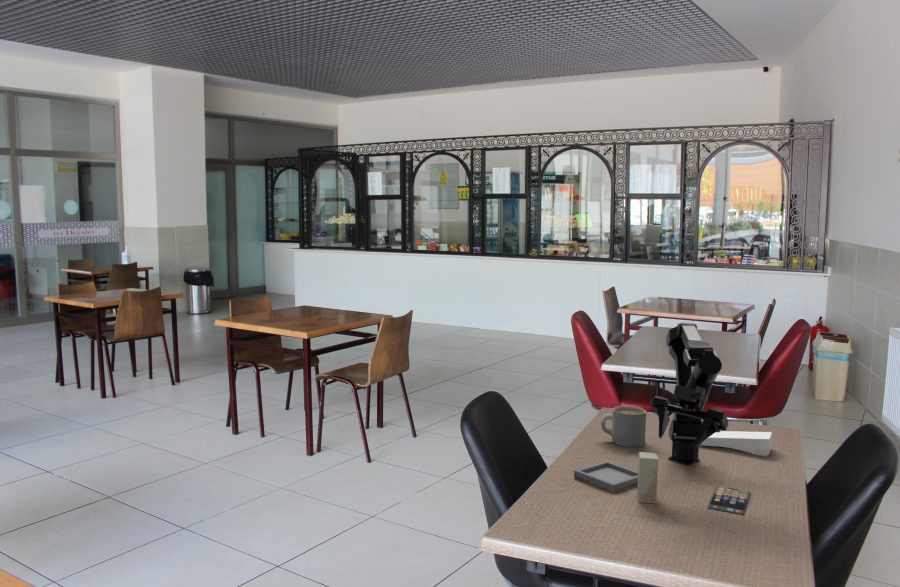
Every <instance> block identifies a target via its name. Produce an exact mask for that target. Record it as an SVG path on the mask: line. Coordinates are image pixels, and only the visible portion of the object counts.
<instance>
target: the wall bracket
mask: <svg viewBox="0 0 900 587" xmlns="http://www.w3.org/2000/svg"><path fill="white" fill-rule="evenodd" d="M773 443H774V441H773V432H772V431H736V430H735V431H734V430H733V431H731V430H730V431H729V430H726V431H723V430H720V432H715V433H714V434H712V435H711V436H710V437H708V438H707V439H706V440H705V441H703V442H702V443H701V444H700V445H699V446H702V445H703V446H706V447H707V446H708V447H722V448H728V449H734V450H739V451H742V452H746V453H749V454H751V453H752V455H755V454H756V456H761V455H763V456H762V457H768V456H769V455H770V452H771V450H772V447H773Z"/></svg>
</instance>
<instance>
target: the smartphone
mask: <svg viewBox="0 0 900 587" xmlns="http://www.w3.org/2000/svg"><path fill="white" fill-rule="evenodd" d="M750 495H751V491H748V490H742V489H737V488H733V487H724V486H719V485H716V486H715V489H714V491H713V494H712V496H711V498H710V501H709V504H708V507H707V509H708V510H712V511H718V512H723V513H730V514H733V513H734V515H738V514H739V516H745V514H746V509H747V505H748V503H749V499H750V497H751V496H750Z"/></svg>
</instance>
